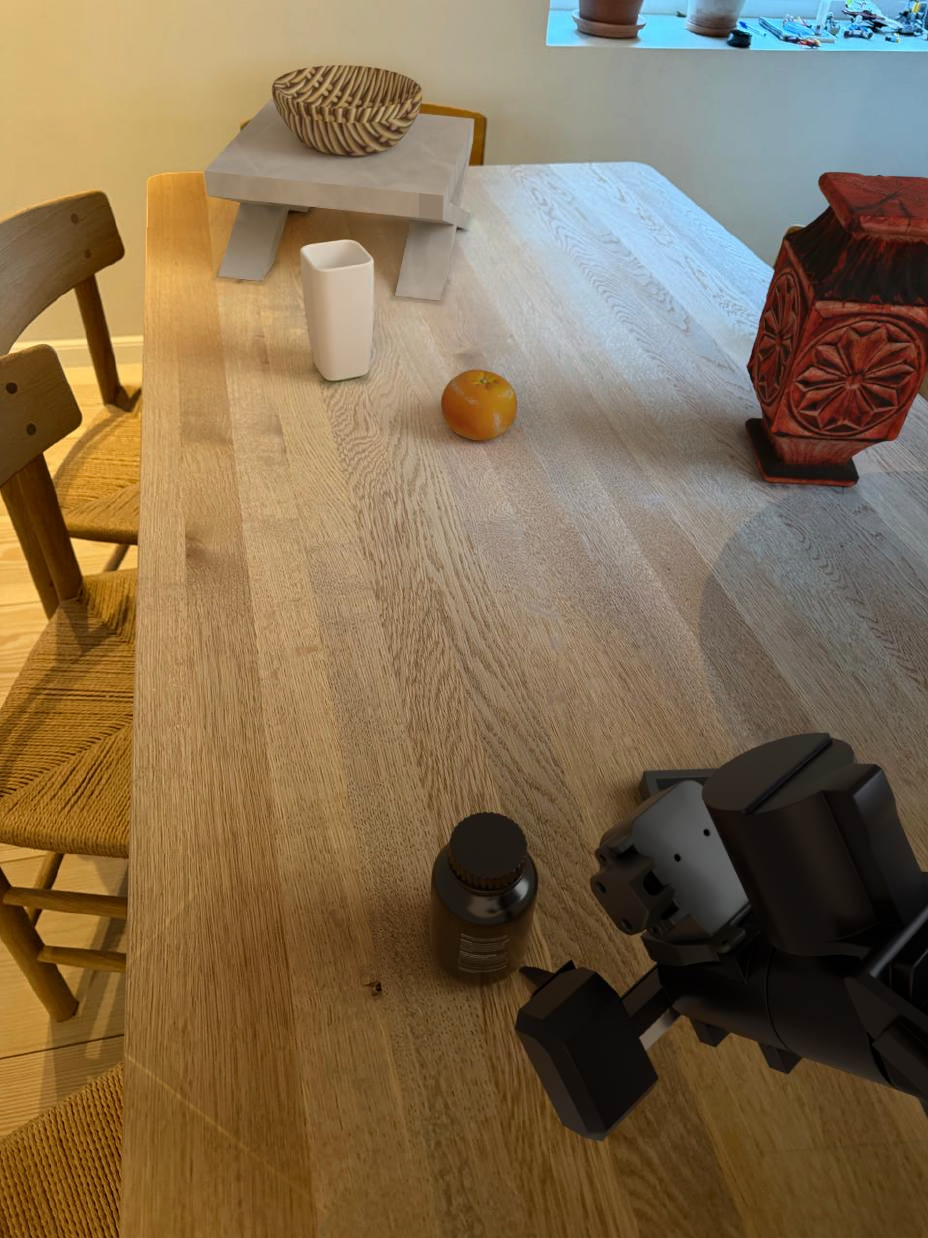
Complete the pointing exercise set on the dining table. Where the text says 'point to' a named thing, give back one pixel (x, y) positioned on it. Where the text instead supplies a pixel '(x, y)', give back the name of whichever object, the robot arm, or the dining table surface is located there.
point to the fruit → (479, 405)
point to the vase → (842, 330)
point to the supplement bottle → (482, 900)
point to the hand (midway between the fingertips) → (584, 924)
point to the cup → (339, 307)
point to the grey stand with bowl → (346, 168)
